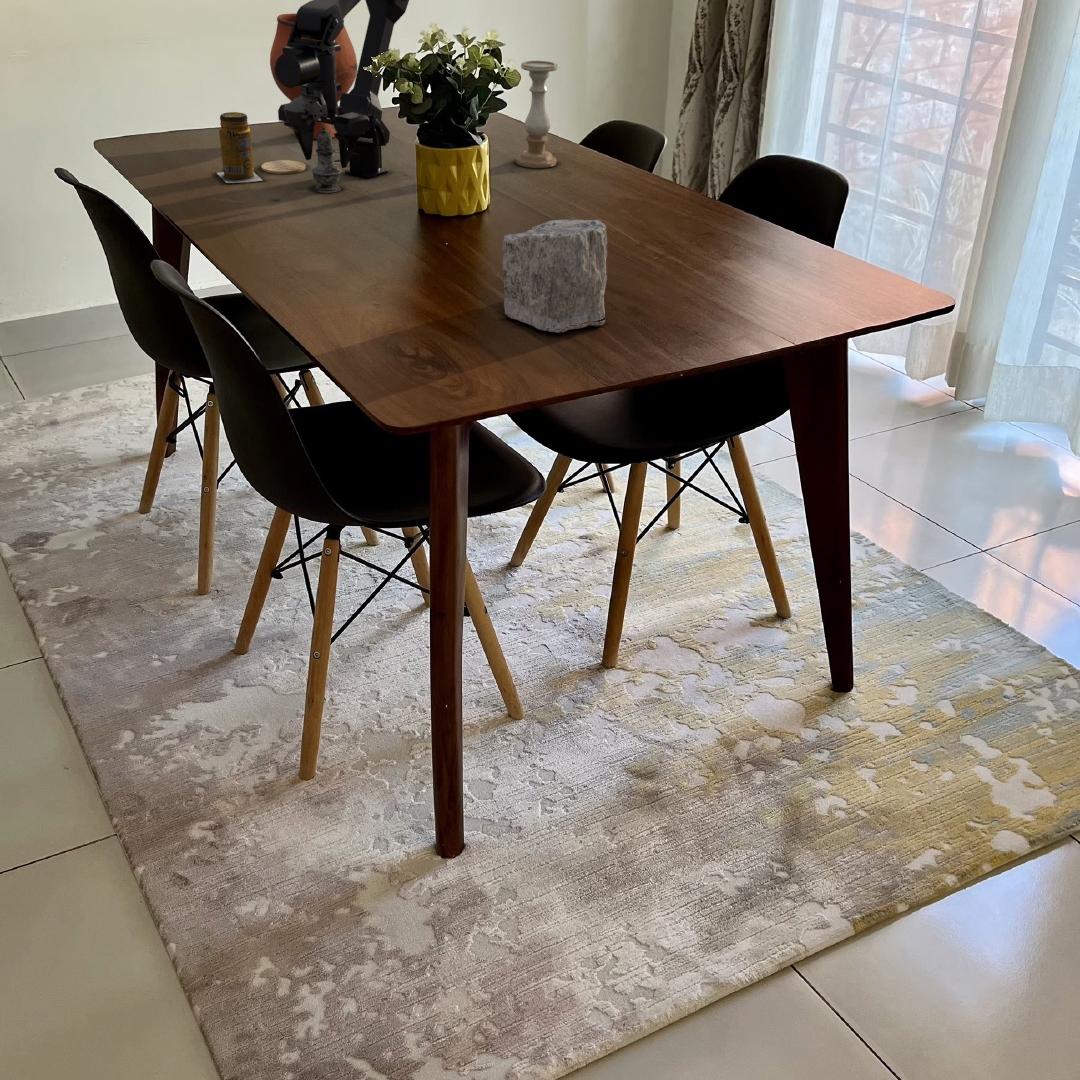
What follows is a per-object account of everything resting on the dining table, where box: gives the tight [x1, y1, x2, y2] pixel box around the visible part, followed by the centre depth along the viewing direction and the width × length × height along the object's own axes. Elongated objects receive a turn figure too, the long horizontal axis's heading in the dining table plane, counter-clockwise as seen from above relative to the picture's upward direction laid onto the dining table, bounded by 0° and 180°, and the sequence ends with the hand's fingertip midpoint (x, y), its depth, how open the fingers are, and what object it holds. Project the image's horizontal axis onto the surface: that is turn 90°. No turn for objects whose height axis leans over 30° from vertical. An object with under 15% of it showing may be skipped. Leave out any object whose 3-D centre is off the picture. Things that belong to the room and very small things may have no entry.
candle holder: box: [515, 60, 559, 169], centre depth 250 cm, size 9×9×20 cm
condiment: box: [216, 111, 263, 184], centre depth 235 cm, size 7×8×12 cm
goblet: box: [269, 13, 358, 140], centre depth 264 cm, size 19×19×25 cm
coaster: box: [260, 159, 307, 175], centre depth 245 cm, size 9×9×1 cm
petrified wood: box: [501, 219, 608, 333], centre depth 176 cm, size 19×17×15 cm
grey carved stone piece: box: [310, 126, 343, 194], centre depth 230 cm, size 6×6×12 cm
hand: (326, 163), depth 231 cm, fingers open, 9 cm apart
